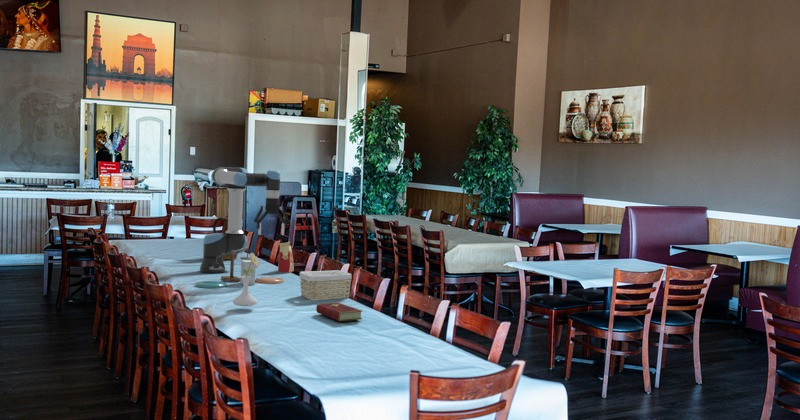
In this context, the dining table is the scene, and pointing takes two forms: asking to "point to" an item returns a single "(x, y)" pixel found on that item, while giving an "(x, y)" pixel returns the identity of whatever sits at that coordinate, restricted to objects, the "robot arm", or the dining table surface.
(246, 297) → the flower in vase
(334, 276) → the storage basket
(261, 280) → the terracotta dish
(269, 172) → the robot arm
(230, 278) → the balance
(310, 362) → the dining table surface
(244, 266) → the small box
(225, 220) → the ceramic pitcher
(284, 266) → the milk carton
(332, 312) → the hardcover book
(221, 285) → the teal dish
